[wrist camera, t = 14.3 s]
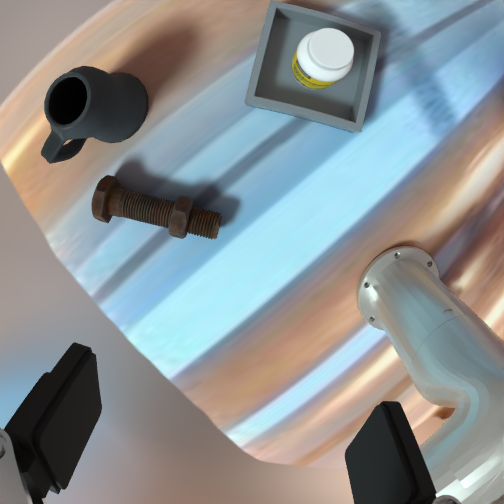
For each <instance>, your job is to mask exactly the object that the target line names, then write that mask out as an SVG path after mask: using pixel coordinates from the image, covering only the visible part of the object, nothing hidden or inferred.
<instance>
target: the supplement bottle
mask: <svg viewBox="0 0 504 504" xmlns="http://www.w3.org/2000/svg"><path fill="white" fill-rule="evenodd" d="M353 55H354V47H353V44H352V41H351V40H350V38H349V37H348V36H347V35H346V34H345V33H343V32H342V31H340V30H337V29H334V28H323V29H320V30H318V31H314V32H311V33H309V34H307V35H306V36H305V37H304V38H303V39H302V40H301V42H300V43H299V45H298V47H297V50H296V52H295V54H294V56H293V59H292V62H291V71H292V74H293V76H294V78H295V79H296V81H297V82H298V83H299V84H301V85H302V86H304V87H306V88H308V89H312V90H321V89H325V88H327V87H329V86H331V85H332V84H334V83H335V82H337V81H338V80H340V79H341V78H343V77H344V76H345V75H346V74H347V73H348V72H349V71H350V69H351V67H352V64H353Z"/></svg>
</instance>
